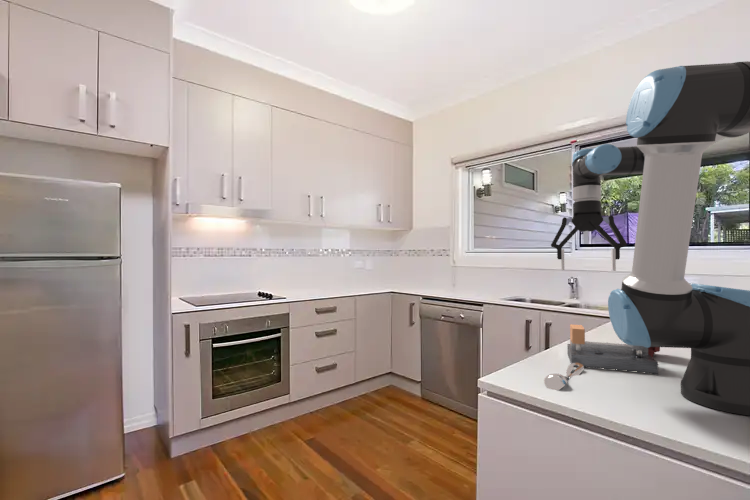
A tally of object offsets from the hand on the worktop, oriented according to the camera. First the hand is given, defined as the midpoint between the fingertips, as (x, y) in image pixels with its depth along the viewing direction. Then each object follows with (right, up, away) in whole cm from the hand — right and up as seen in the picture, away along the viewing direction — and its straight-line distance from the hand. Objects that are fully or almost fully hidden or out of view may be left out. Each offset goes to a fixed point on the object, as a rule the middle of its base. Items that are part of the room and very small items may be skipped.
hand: (587, 270), depth 118 cm
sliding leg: (-9, -21, -10) cm, 25 cm away
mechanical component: (+14, -25, -5) cm, 29 cm away
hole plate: (-2, -24, -13) cm, 28 cm away
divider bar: (-2, -21, -13) cm, 25 cm away
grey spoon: (-19, -25, -26) cm, 41 cm away
